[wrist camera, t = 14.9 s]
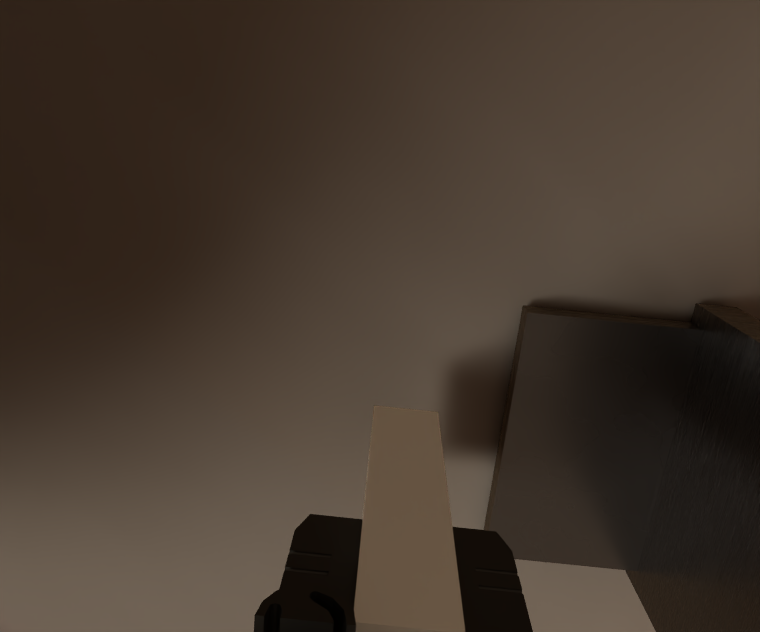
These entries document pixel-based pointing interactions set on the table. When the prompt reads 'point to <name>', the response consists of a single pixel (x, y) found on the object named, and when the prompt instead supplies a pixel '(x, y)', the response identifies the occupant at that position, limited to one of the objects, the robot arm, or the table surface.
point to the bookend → (638, 457)
